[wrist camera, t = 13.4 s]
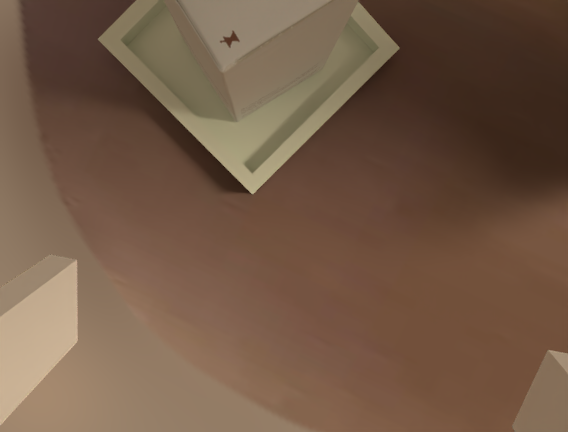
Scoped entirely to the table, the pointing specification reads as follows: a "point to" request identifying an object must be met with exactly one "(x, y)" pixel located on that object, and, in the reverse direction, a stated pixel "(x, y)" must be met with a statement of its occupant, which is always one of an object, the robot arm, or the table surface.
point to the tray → (264, 121)
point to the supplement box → (259, 44)
